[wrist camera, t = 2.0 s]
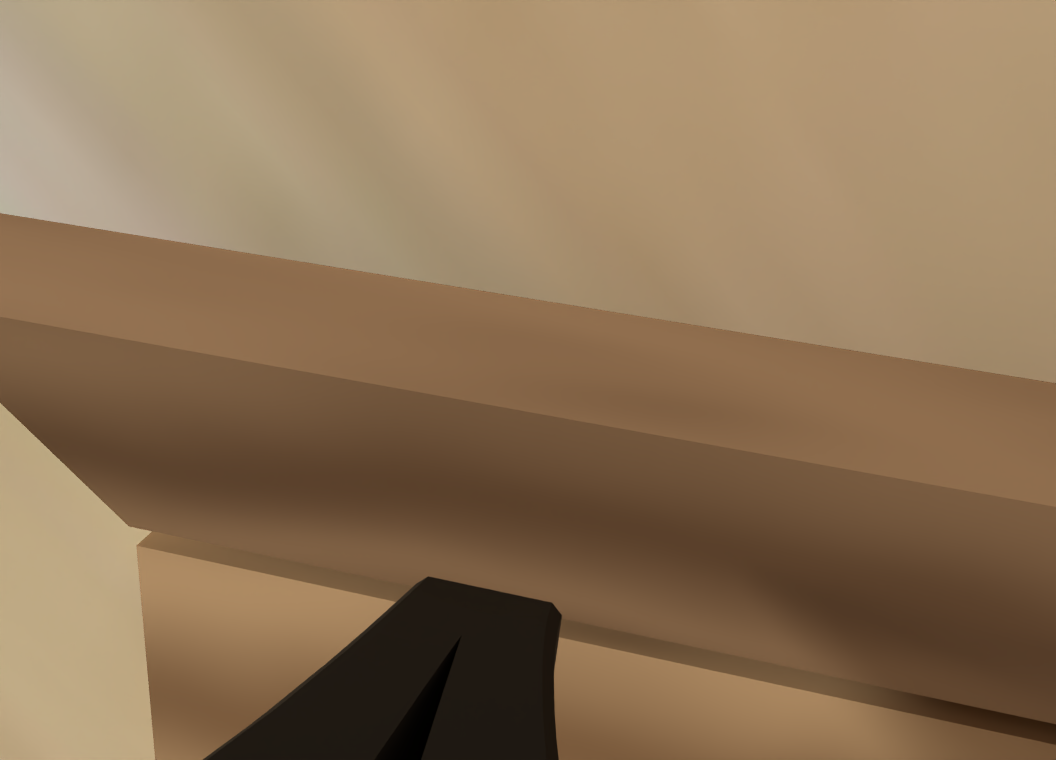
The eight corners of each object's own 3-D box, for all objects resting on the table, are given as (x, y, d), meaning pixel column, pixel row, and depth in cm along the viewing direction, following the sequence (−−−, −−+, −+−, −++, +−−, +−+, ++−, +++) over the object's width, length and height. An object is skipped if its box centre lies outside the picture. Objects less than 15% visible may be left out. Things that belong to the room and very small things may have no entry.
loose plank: (1420, 707, 14) (1449, 808, 13) (163, 456, 17) (128, 525, 17) (2031, 541, 8) (2145, 702, 8) (-41, 206, 12) (-110, 297, 11)
